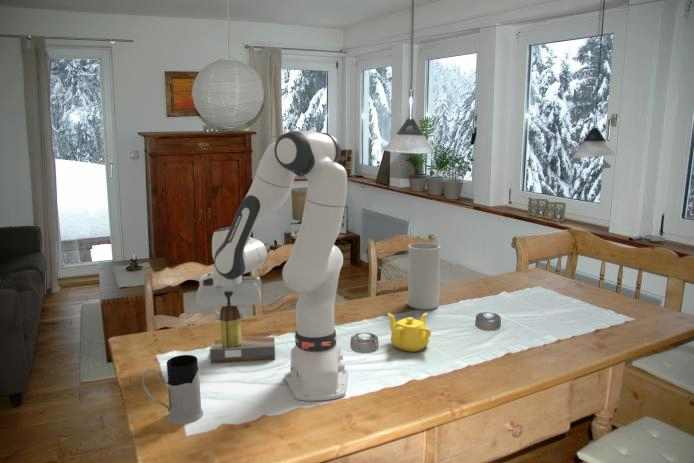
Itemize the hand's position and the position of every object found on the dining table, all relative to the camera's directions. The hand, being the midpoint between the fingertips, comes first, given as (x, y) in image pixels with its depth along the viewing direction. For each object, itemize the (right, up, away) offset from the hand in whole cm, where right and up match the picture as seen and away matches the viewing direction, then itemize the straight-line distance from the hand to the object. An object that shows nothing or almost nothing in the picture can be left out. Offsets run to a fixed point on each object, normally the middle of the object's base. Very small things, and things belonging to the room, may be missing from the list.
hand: (230, 318), depth 182 cm
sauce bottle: (0, -10, +2) cm, 10 cm away
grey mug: (-7, -20, -37) cm, 43 cm away
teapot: (+59, -10, +8) cm, 60 cm away
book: (+4, -12, +4) cm, 13 cm away
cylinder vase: (+69, -2, +49) cm, 85 cm away
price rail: (+5, -11, -4) cm, 13 cm away
